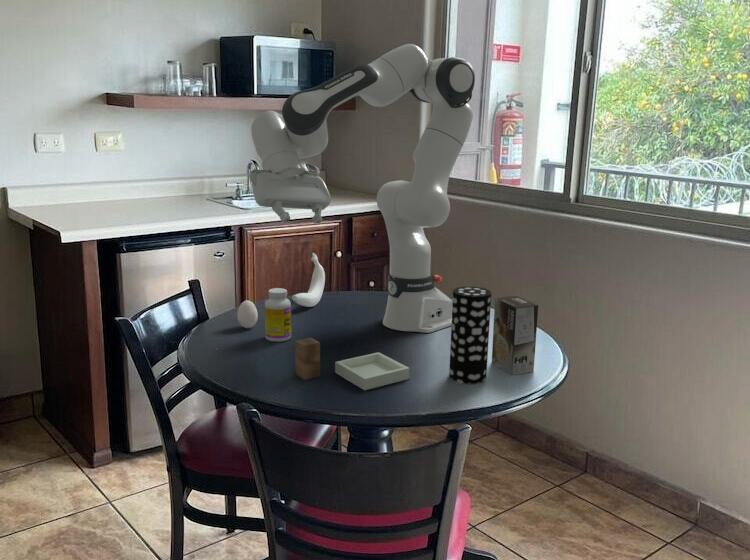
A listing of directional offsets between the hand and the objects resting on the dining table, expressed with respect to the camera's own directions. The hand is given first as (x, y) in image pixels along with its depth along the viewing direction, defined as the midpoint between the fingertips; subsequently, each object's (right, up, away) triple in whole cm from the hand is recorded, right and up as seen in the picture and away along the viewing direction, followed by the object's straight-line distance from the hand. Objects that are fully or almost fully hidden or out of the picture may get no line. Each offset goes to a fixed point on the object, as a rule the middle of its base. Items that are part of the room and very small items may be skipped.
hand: (302, 221), depth 166 cm
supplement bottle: (-8, -29, +20) cm, 36 cm away
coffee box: (+49, -34, +3) cm, 60 cm away
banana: (-3, -21, +49) cm, 54 cm away
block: (+2, -35, -4) cm, 35 cm away
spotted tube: (+38, -36, -4) cm, 52 cm away
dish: (+16, -35, -4) cm, 39 cm away
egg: (-18, -27, +28) cm, 42 cm away
